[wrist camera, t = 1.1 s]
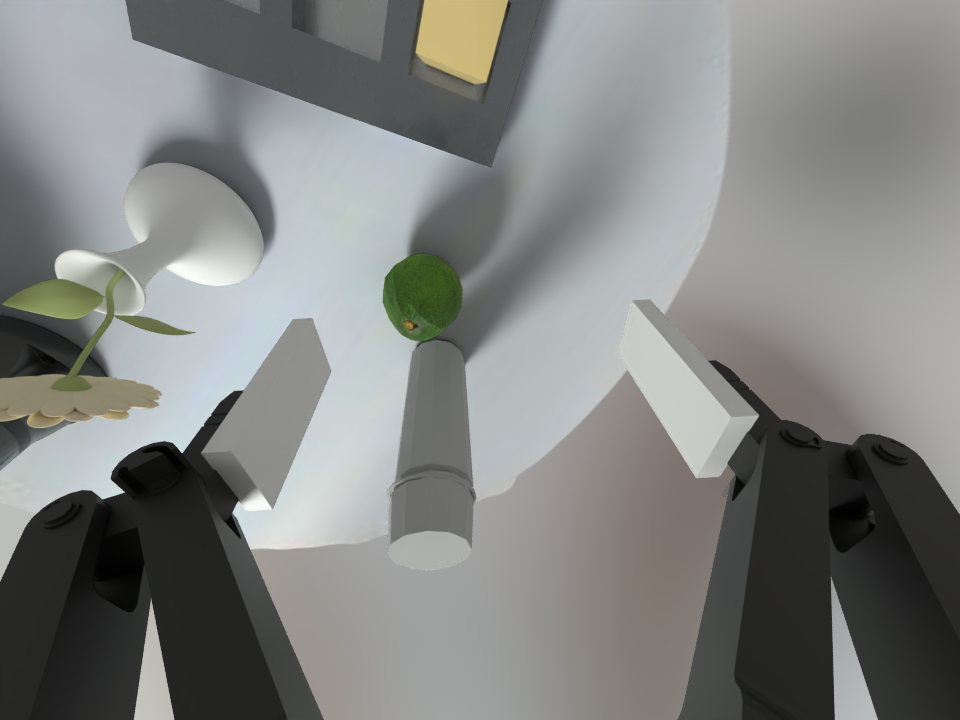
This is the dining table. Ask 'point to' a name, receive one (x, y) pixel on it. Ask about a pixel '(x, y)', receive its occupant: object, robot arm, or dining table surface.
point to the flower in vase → (134, 286)
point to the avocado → (422, 296)
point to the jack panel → (348, 61)
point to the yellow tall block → (460, 36)
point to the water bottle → (433, 464)
